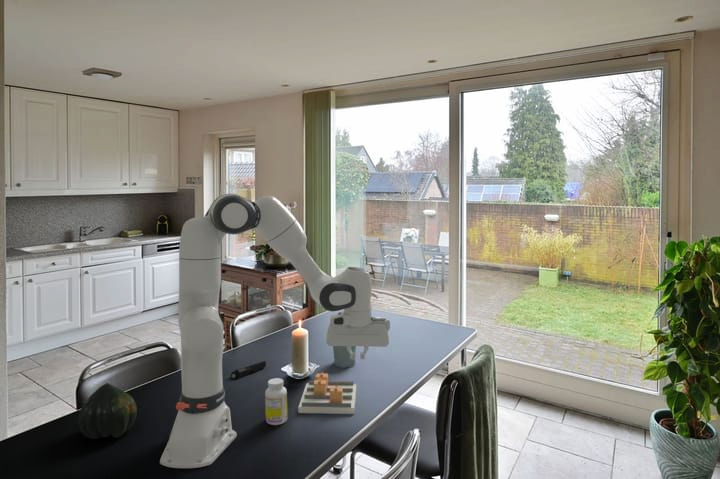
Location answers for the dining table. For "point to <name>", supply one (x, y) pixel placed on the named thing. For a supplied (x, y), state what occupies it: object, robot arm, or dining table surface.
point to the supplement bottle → (276, 402)
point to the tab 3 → (336, 394)
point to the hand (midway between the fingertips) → (357, 358)
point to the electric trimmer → (247, 370)
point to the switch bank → (328, 399)
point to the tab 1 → (322, 377)
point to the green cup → (343, 356)
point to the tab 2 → (320, 387)
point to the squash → (107, 413)
